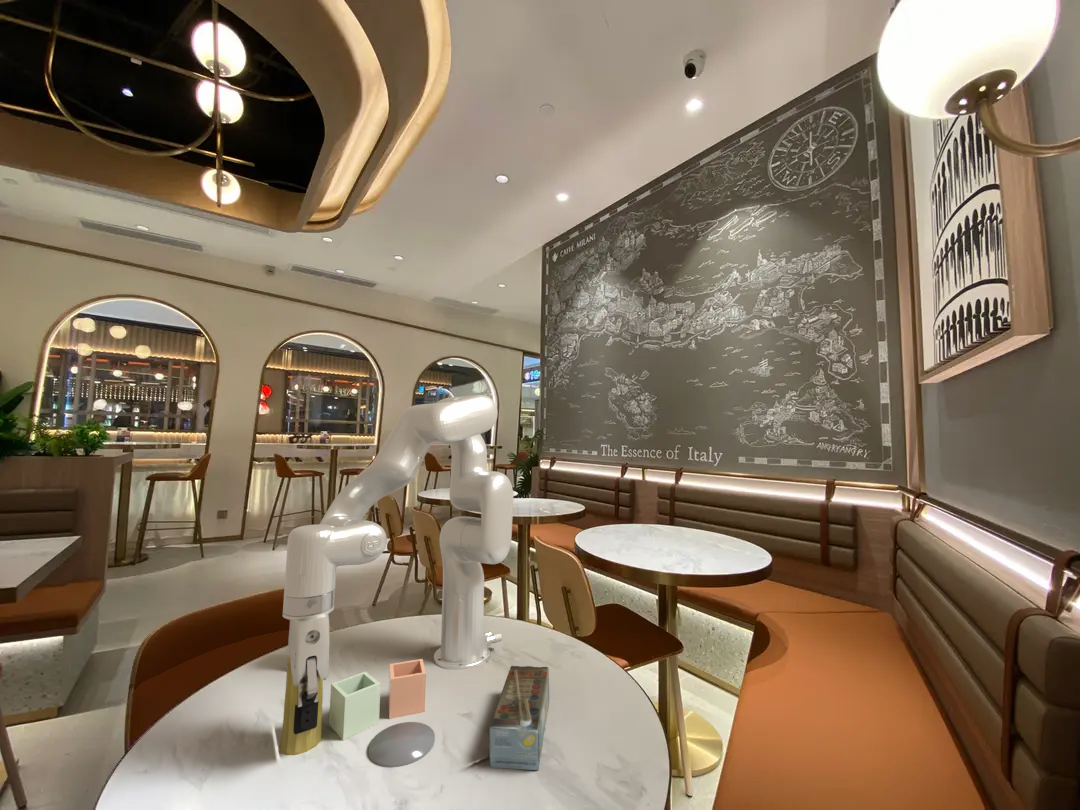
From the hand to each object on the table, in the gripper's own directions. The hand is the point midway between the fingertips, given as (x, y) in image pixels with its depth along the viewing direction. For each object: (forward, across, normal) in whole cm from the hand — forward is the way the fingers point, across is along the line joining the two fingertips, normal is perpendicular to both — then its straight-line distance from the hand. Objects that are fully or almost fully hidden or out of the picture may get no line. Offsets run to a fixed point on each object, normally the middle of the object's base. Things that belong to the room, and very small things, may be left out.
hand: (302, 718), depth 69 cm
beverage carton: (+5, -17, -31) cm, 36 cm away
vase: (+4, 0, 0) cm, 4 cm away
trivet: (+4, -10, -13) cm, 17 cm away
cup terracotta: (+4, 0, -17) cm, 17 cm away
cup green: (+4, 0, -8) cm, 9 cm away
